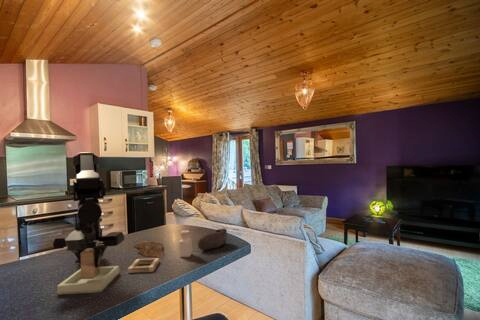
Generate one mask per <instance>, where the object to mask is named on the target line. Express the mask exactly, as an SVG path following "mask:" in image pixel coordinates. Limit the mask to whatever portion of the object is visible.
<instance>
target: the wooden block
mask: <svg viewBox="0 0 480 320" xmlns="http://www.w3.org/2000/svg"><path fill="white" fill-rule="evenodd" d="M99 267H100V265H99V266H98V267H97V268H96V267H95V251H94V249H93V248H87V249H85V250H84V251H82V252H81V265H80V269H81V279H94V278H95V277H96V276H97V275H98V274H99V273H100V269H99Z"/></svg>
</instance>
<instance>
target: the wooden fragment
mask: <svg viewBox="0 0 480 320" xmlns="http://www.w3.org/2000/svg"><path fill="white" fill-rule="evenodd" d="M132 247H133V248H136V249H137V250H138V251H137V253H138V254H141V255H142V256H143V257H145V258H159V259H165V252H164V245H163V244H162V243H159V242H153V241H148V240H143V241H141V242H138V243H134V245H132Z"/></svg>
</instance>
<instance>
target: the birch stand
mask: <svg viewBox="0 0 480 320" xmlns="http://www.w3.org/2000/svg"><path fill="white" fill-rule="evenodd" d="M159 263H160V258H158V257H145V258H136V259H135V260H134V262H132V264H130V266H128V268H127V273H128V274H132V273H133V274H134V273H136V274H138V273H153V272H154V270H155V269H156V268H157V266H158V265H159ZM142 265H143V266H142Z"/></svg>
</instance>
